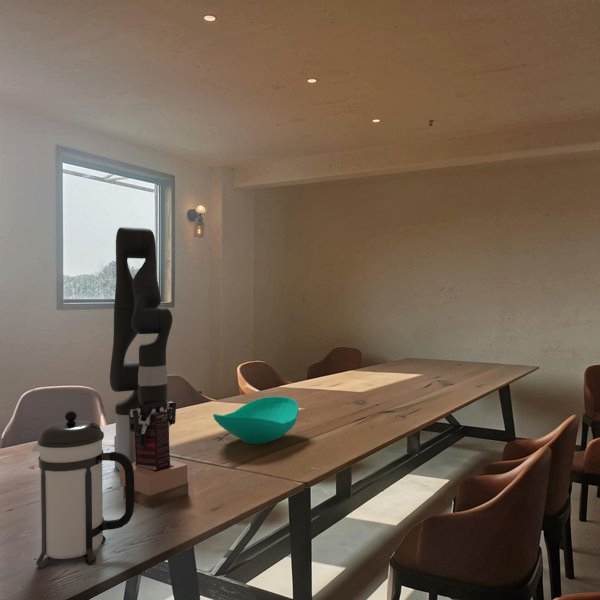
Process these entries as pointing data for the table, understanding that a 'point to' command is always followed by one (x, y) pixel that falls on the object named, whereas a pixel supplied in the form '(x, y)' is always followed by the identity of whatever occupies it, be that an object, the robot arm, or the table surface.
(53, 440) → the coffee press
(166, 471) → the tower top
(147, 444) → the supplement box
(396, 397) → the table surface
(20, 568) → the table surface
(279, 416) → the table top decor
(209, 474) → the table surface
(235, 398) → the table surface
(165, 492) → the tower bottom
